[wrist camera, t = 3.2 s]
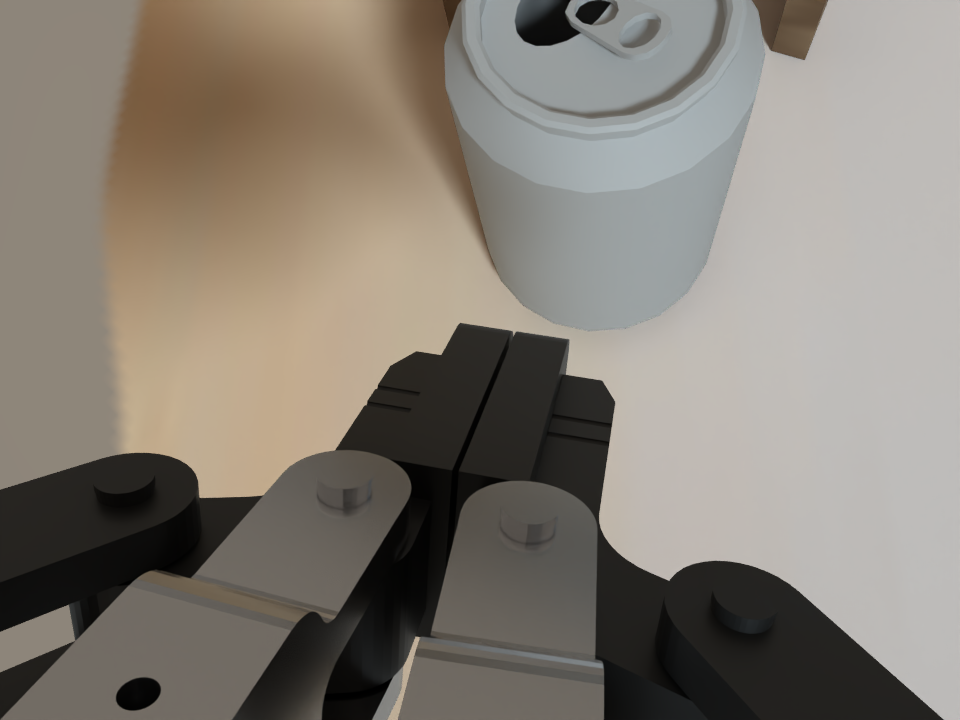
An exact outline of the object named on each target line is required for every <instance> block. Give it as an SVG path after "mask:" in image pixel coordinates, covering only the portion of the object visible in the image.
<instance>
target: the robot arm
mask: <svg viewBox="0 0 960 720" xmlns="http://www.w3.org/2000/svg"><path fill="white" fill-rule="evenodd" d="M568 352H569V339H562V338H556V337H549V336H543V335H536V334H529V333H523V332H516V333H515V335H514V337H513V331H509V330H502V329H496V328H489V327H483V326H476V325H470V324H463V323H460V324H459V325H458V326H457V328H456V330H455V332H454V333H453V335H452V337H451V339H450V341H449V342H448V344H447V346H446V348H445V350H444V351H443V353H442V355H436V354H430V353H424V352H417V351H416V352H414V353H413V354H411V355H409V356H407V357H406V358H404V359H402V360H400V361H398V362H397V363H395V364H393V365H391V366H390V368H389V369H388V371H387V372H386V374H385V375H384V377H383V378H382V380H381V381H380V383H379V384H378V388H377V389H375V390H374V392H373V394H372V395H371V397H370V398H369V400H368V401H367V406H366V405H365V406H364V407H363V409H362V410H361V412H360V413H359V415H358V416H357V418H356V419H355V421H354V422H353V424H352V426H351V427H350V429H349V430H348V432H347V433H346V435H345V436H344V438H343V439H342V441H341V442H340V444H339V445H338V447H337V448H336V450H335V451H328V452H323V453H319V454H315V455H312V456H309V457H306V458H304V459H302V460H300V461H298V462H296V463H295V464H293V465H292V466H290V467H289V468H288V469H287V470H286V471H285V472H284V473H283V474H282V475H281V476H280V477H279V478H278V480H277V481H276V482H275V483H274V484H273V485H272V486H271V488H270V489H269V490H268V491H267V492H266V493H265V494H264V495H263V496H253V497H227V498H199V487H198V480H197V477H196V474H195V473H194V471H193V470H192V469H191V468H190V467H189V466H188V465H187V464H185V463H183V462H182V461H180V460H178V459H175V458H172V457H169V456H165V455H160V454H152V453H129V454H121V455H115V456H110V457H106V458H102V459H99V460H96V461H92V462H89V463H86V464H83V465H79V466H77V467H73V468H70V469H66V470H63V471H60V472H57V473H53V474H50V475H47V476H44V477H40V478H37V479H34V480H31V481H28V482H24V483H21V484H18V485H15V486H11V487H8V488H5V489H1V490H0V632H1V631H3V630H6V629H8V628H11V627H13V626H16V625H18V624H21V623H23V622H26V621H28V620H31V619H33V618H36V617H39V616H41V615H43V614H46V613H49V612H51V611H54V610H56V609H59V608H61V607H64V606H66V605H69V607H70V613H71V619H72V624H73V630H74V636H75V641H74V642H72V643H69V644H67V645H65V646H62V647H60V648H58V649H55V650H53V651H50V652H48V653H46V654H43V655H41V656H38V657H36V658H34V659H31V660H29V661H26V662H24V663H22V664H19V665H17V666H15V667H12V668H10V669H8V670H5V671H3V672H0V720H388V718H389V715H390V713H391V711H392V709H393V707H394V705H395V703H396V701H397V698H398V696H399V694H400V691H401V688H402V679H403V665H404V664H405V662H406V660H407V658H408V655H409V652H410V650H411V647H412V644H413V642H414V639H415V636H417V637H421V638H420V640H419V643H418V646H417V649H416V652H415V656H414V660H413V663H412V667H411V671H410V675H409V679H408V683H407V687H406V690H405V694H404V698H403V702H402V706H401V710H400V713H399V717H398V720H943V719H942V718H941V717H940V716H939V715H938V714H937V713H935V712H934V711H933V710H932V709H931V708H930V707H929V706H928V705H926V704H925V703H924V702H923V701H922V700H921V699H920V698H919V697H917V696H916V695H915V694H914V693H913V692H912V691H911V690H909V689H908V688H907V687H906V686H905V685H904V684H903V683H902V682H900V681H899V680H898V679H897V678H896V677H895V676H894V675H892V674H891V673H890V672H889V671H888V670H887V669H886V668H885V667H883V666H882V665H881V664H880V663H879V662H878V661H877V660H876V659H874V658H873V657H872V656H871V655H870V654H869V653H868V652H866V651H865V650H864V649H863V648H862V647H861V646H860V645H859V644H857V643H856V642H855V641H854V640H853V639H852V638H851V637H850V636H848V635H847V634H846V633H845V632H844V631H843V630H842V629H840V628H839V627H838V626H837V625H836V624H835V623H834V622H833V621H831V620H830V619H829V618H828V617H827V616H826V615H825V614H824V613H822V612H821V611H820V610H819V609H818V608H817V607H816V606H814V605H813V604H812V603H811V602H810V601H809V600H808V599H807V598H805V597H804V596H803V595H802V594H801V593H800V592H799V591H797V590H796V589H795V588H794V587H792V586H791V585H790V584H788V583H787V582H785V581H783V580H782V579H780V578H779V577H777V576H775V575H773V574H770V573H768V572H766V571H764V570H761V569H758V568H756V567H753V566H749V565H745V564H741V563H735V562H728V561H708V562H701V563H696V564H693V565H690V566H688V567H685V568H683V569H682V570H680V571H679V572H677V573H676V574H675V575H674V576H673V577H672V578H671V579H670V581H668V580H666V579H663V578H661V577H659V576H656V575H654V574H651V573H649V572H647V571H645V570H643V569H641V568H639V567H637V566H636V565H634V564H632V563H631V562H629V561H627V560H626V559H625V558H624V557H622V556H621V555H620V554H619V553H617V552H616V550H615V549H614V548H613V547H612V546H611V545H610V544H609V543H608V541H607V540H606V538H605V537H604V535H603V533H602V531H601V528H600V524H599V511H600V504H601V497H602V490H603V483H604V476H605V469H606V462H607V455H608V448H609V442H610V435H611V427H612V421H613V414H614V407H615V401H614V399H613V398H612V396H611V394H610V393H609V391H608V390H607V388H606V386H605V385H604V383H603V381H601V380H594V379H588V378H582V377H576V376H569V375H566V368H567V360H568Z"/></svg>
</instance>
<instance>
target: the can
mask: <svg viewBox="0 0 960 720" xmlns="http://www.w3.org/2000/svg"><path fill="white" fill-rule="evenodd" d="M444 55H445V88H446V91H447V95H448V99H449V103H450V106H451V110H452V114H453V118H454V122H455V125H456V129H457V133H458V137H459V140H460V144H461V148H462V152H463V155H464V159H465V163H466V167H467V171H468V174H469V178H470V182H471V186H472V189H473V193H474V197H475V201H476V204H477V208H478V212H479V216H480V220H481V223H482V227H483V231H484V235H485V238H486V242H487V246H488V250H489V253H490V255H491V257H492V260H493V262H494V265H495V267H496V270H497V272H498V275H499V277H500V279H501V281H502V282H503V284H504V285H505V286H506V287H507V288H508V289H509V290H510V291H511V293H512V294H513V295H514V296H515V297H516V298H517V299H518V300H519V302H520V303H521V304H522V305H523V306H524V307H526V308H528V309H530V310H531V311H533V312H535V313H537V314H538V315H540V316H542V317H543V318H545V319H547V320H549V321H550V322H552V323H554V324H559V325H563V326H568V327H572V328H576V329H581V330H585V331H599V330H613V329H626V328H628V327H631V326H633V325H636V324H638V323H641V322H644V321H646V320H649V319H651V318H654V317H656V316H659V315H661V314H662V313H663V312H664V311H666V310H667V309H668V308H669V307H671V306H672V305H673V304H674V303H676V302H677V301H678V300H679V299H680V298H682V297H683V296H684V295H685V294H687V293H688V291H689V290H690V288H691V286H692V285H693V283H694V282H695V280H696V279H697V277H698V276H699V274H700V272H701V271H702V269H703V268H704V266H705V265H706V262H707V258H708V255H709V252H710V248H711V245H712V242H713V238H714V235H715V232H716V228H717V225H718V222H719V218H720V215H721V212H722V208H723V205H724V202H725V198H726V195H727V191H728V188H729V185H730V181H731V178H732V175H733V171H734V168H735V165H736V161H737V158H738V155H739V151H740V148H741V145H742V141H743V138H744V135H745V131H746V128H747V125H748V121H749V118H750V115H751V111H752V108H753V105H754V101H755V98H756V93H757V89H758V84H759V80H760V75H761V71H762V67H763V62H764V58H765V50H764V43H763V37H762V31H761V24H760V18H759V12H758V10H757V8H756V6H755V5H754V3H753V1H752V0H462V1H461V2H460V3H459V4H458V6H457V9H456V12H455V15H454V18H453V21H452V24H451V27H450V30H449V33H448V36H447V39H446V42H445V45H444Z"/></svg>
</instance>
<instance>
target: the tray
mask: <svg viewBox="0 0 960 720" xmlns="http://www.w3.org/2000/svg"><path fill="white" fill-rule="evenodd" d="M461 1H462V0H443V3H444V7H445V11H446V16H447V20H448V24H449V28H450V27H451V24H452V21H453V18H454V15H455V12H456V9H457V6H458V4H459V3H460V2H461ZM827 2H828V0H787V1H786V4H785V7H784V11H783V14H782V17H781V21H780V24H779V27H778V31H777V34H776V37H775V40H774V44H773V47H772V50H771V51H775V52H778V53H782V54H785V55H789V56H792V57H796V58H799V59H803V60H805V58H806V55H807V53H808V50H809V48H810V45H811V43H812V40H813V37H814V35H815V32H816V30H817V27H818V25H819V22H820V20H821V17H822V15H823V12H824V10H825V7H826V4H827Z"/></svg>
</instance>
